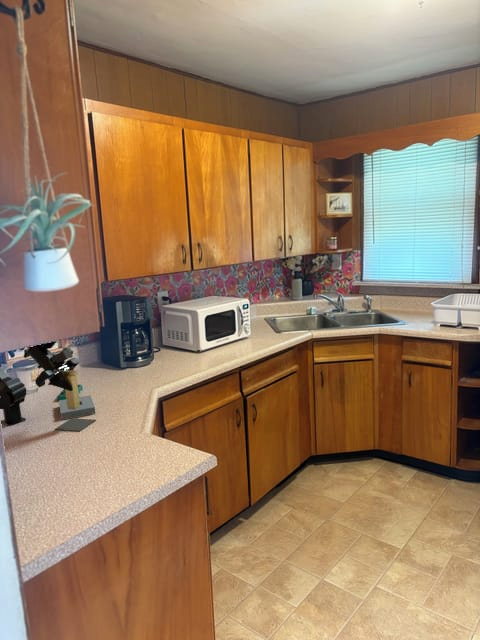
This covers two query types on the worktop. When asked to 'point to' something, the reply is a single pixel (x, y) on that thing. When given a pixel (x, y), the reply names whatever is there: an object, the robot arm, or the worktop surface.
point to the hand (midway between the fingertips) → (75, 388)
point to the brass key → (72, 395)
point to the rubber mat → (75, 424)
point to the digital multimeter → (63, 394)
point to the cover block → (83, 410)
